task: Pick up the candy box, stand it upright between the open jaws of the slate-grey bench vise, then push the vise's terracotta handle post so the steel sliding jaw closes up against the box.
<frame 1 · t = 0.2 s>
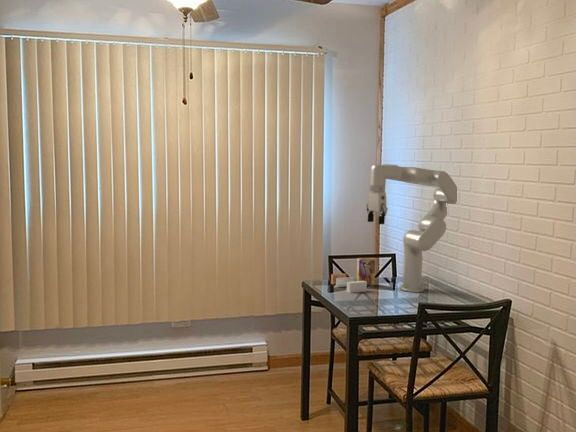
hand: (375, 222, 308), 36 cm above the table, tool pointing down, fingers open, 9 cm apart
sliding jaw: (341, 280, 322), point 4 cm above the table, slide at 0.0 cm
vise base: (346, 289, 317), on the table
candy box: (365, 286, 326), on the table
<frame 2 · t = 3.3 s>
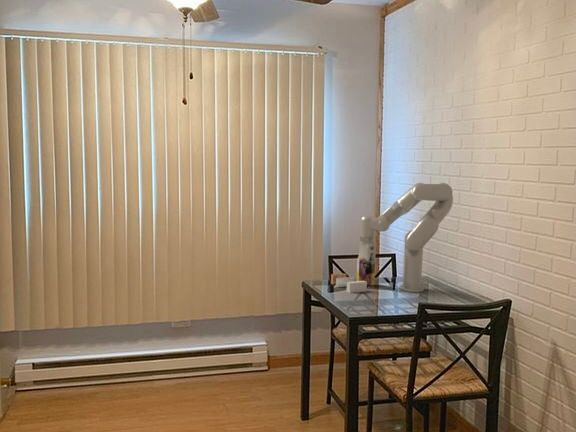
hand: (365, 272, 325), 7 cm above the table, tool pointing down, fingers closed on candy box, 5 cm apart
candy box: (365, 286, 326), on the table, touching gripper
everything else where it was.
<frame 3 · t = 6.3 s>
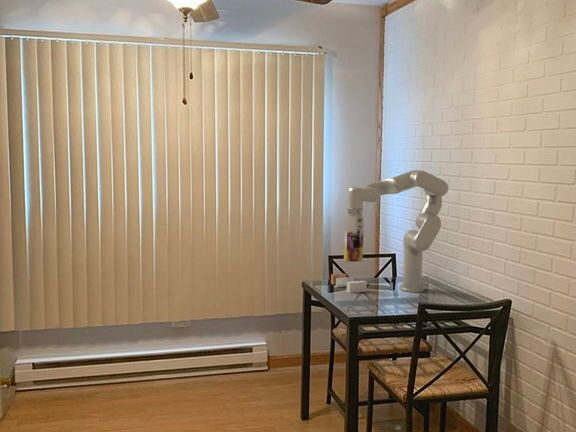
hand: (353, 246, 311), 23 cm above the table, tool pointing down, fingers closed on candy box, 4 cm apart
candy box: (352, 261, 312), point 16 cm above the table, touching gripper
everything else where it was.
when the fingers open (10 cm above the table, at t = 9.2 s): candy box drops 1 cm, resting on vise base.
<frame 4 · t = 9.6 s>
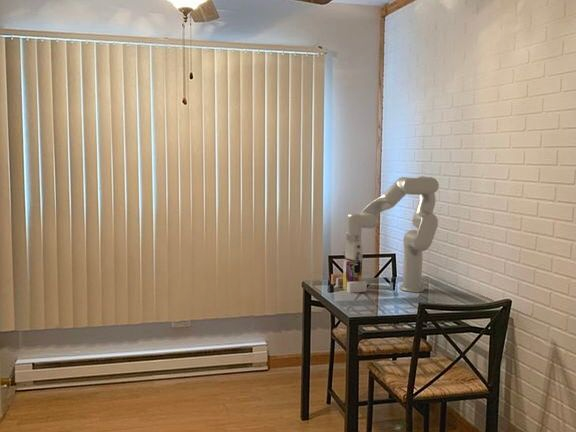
hand: (352, 270, 312), 11 cm above the table, tool pointing down, fingers open, 9 cm apart
candy box: (351, 289, 313), point 1 cm above the table, touching vise base
everything else where it was.
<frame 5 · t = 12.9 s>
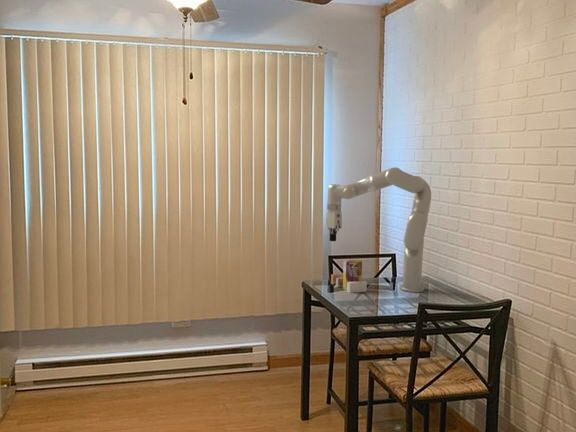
hand: (332, 240, 330), 23 cm above the table, tool pointing down, fingers closed
nothing on the table moved.
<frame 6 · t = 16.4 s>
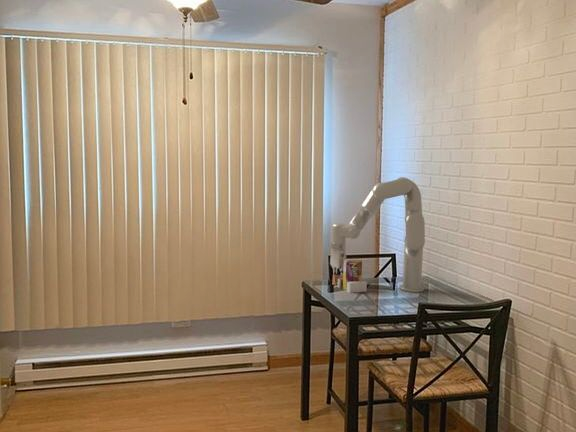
hand: (336, 280, 327), 3 cm above the table, tool pointing down, fingers closed
sliding jaw: (343, 280, 320), point 4 cm above the table, slide at 1.7 cm, touching gripper
everything else where it was.
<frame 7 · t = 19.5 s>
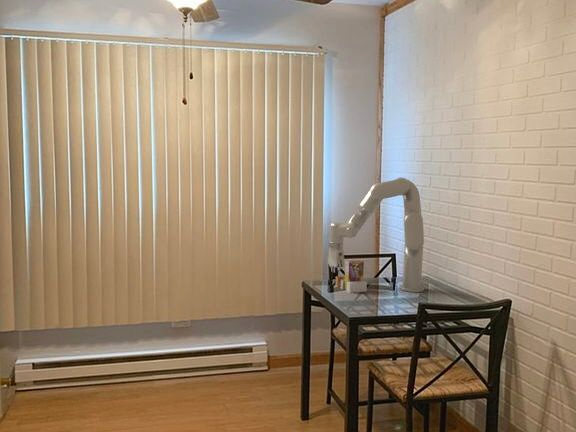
hand: (334, 279, 329), 3 cm above the table, tool pointing down, fingers closed
sliding jaw: (346, 282, 318), point 4 cm above the table, slide at 4.9 cm, touching candy box
candy box: (353, 290, 312), point 1 cm above the table, touching sliding jaw, vise base
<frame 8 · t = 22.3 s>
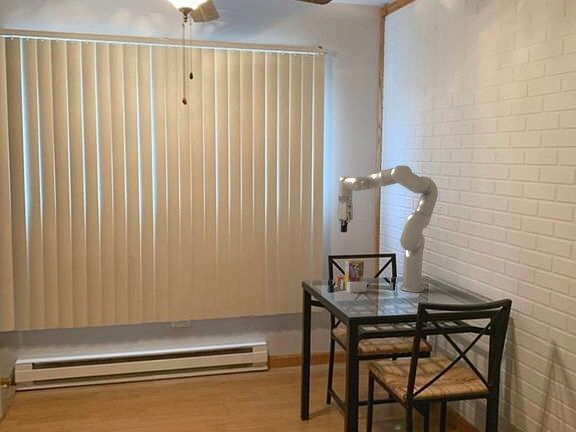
hand: (343, 231, 337), 27 cm above the table, tool pointing down, fingers closed
nothing on the table moved.
at the end: candy box inside the target area (0.6 cm from its centre), point 0.9 cm above the table; candy box tilted 2°; sliding jaw slide at 4.9 cm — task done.
